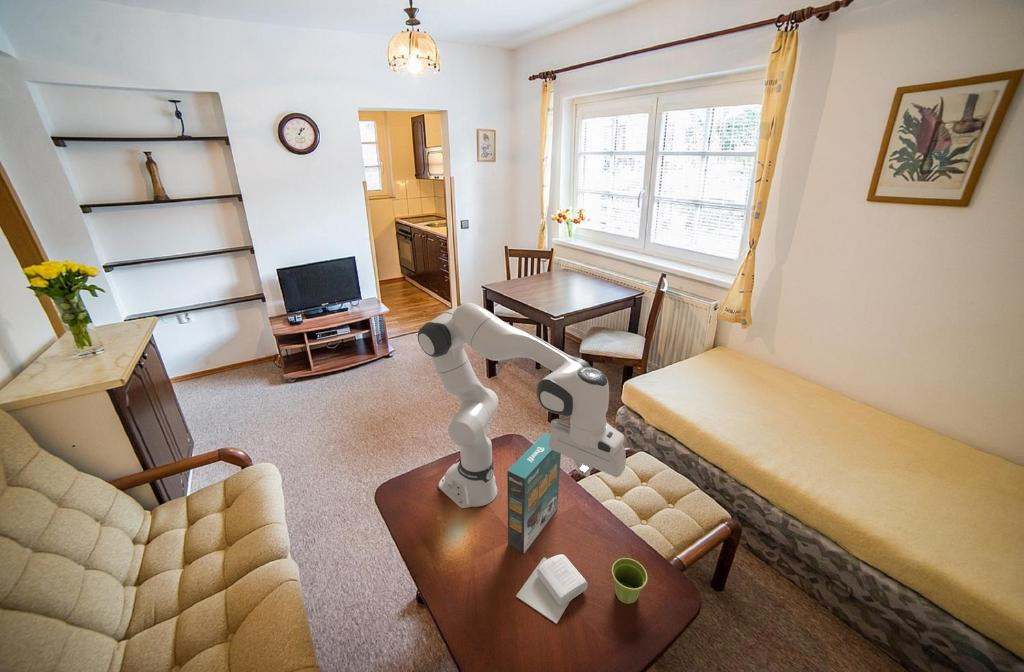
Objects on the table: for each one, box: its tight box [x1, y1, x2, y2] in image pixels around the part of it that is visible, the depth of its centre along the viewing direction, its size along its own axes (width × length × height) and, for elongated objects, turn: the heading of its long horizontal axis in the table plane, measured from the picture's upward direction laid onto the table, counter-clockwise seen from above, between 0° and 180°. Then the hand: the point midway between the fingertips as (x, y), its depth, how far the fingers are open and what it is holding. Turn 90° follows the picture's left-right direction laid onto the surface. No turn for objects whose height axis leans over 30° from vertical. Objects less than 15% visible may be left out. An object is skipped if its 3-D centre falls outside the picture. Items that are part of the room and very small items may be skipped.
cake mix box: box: [506, 432, 562, 555], centre depth 133 cm, size 22×6×30 cm, turn 146°
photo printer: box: [537, 553, 589, 606], centre depth 120 cm, size 10×4×12 cm
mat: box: [515, 557, 571, 625], centre depth 119 cm, size 13×15×1 cm
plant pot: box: [611, 557, 648, 605], centre depth 116 cm, size 9×9×9 cm
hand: (583, 473), depth 109 cm, fingers closed
